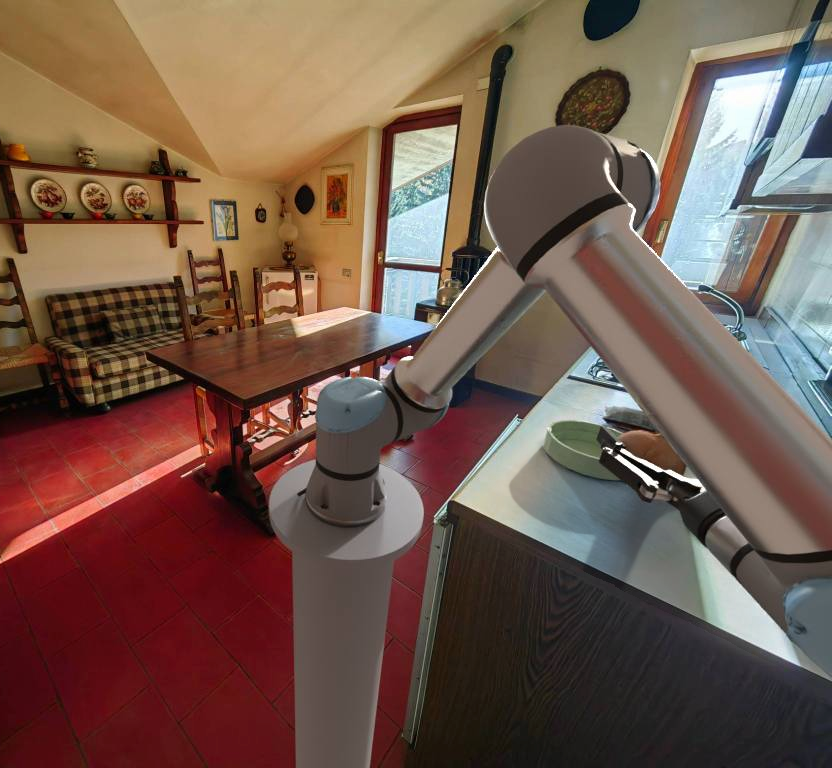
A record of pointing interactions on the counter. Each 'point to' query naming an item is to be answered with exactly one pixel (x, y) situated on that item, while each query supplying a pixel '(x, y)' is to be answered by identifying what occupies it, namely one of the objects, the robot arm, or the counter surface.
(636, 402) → the robot arm
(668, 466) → the onion
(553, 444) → the bowl
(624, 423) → the packaged food
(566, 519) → the counter surface
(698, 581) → the counter surface
